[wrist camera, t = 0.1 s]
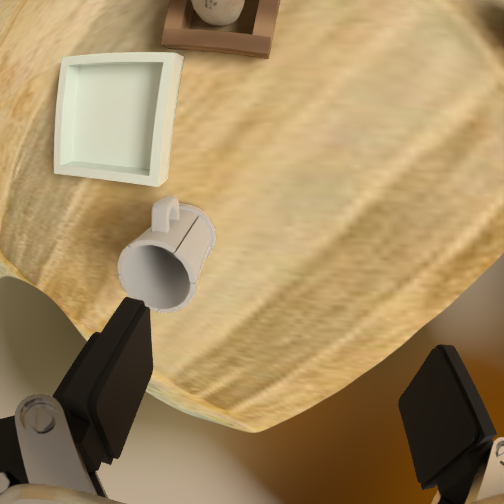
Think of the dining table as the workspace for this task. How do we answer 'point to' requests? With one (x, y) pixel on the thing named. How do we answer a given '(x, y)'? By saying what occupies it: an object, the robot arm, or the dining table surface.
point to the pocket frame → (219, 41)
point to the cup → (167, 256)
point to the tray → (117, 116)
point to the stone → (218, 11)
